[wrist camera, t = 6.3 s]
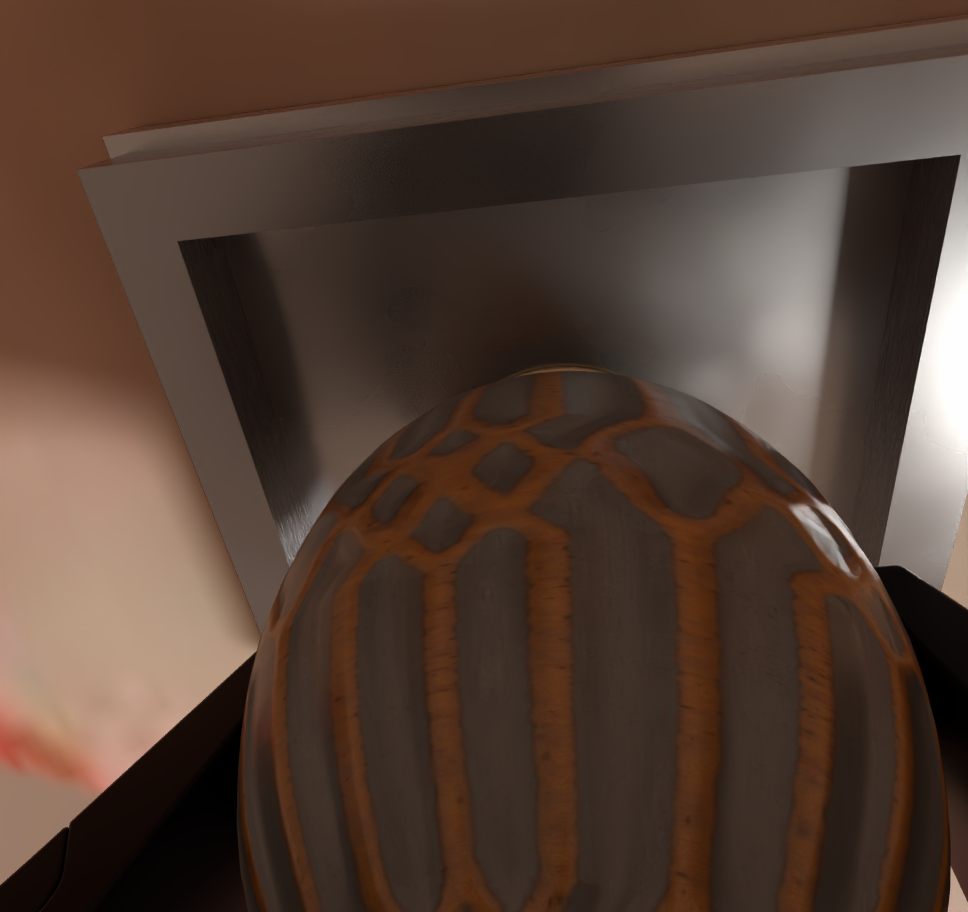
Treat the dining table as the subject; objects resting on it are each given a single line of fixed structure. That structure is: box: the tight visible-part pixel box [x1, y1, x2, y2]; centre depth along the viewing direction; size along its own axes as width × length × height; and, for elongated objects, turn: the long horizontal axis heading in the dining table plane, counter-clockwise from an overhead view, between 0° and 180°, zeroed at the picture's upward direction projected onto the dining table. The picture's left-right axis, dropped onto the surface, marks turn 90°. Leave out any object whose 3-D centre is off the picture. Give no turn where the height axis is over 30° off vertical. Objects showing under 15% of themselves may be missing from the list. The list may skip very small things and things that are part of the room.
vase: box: [237, 371, 951, 912], centre depth 7 cm, size 7×7×9 cm
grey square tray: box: [77, 14, 968, 635], centre depth 12 cm, size 12×12×2 cm
